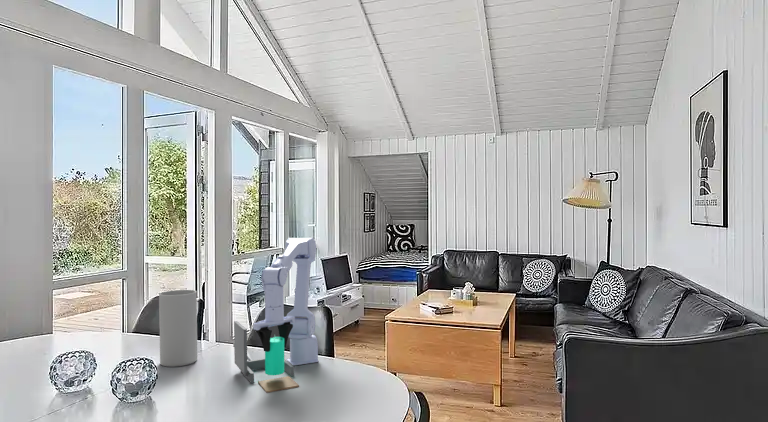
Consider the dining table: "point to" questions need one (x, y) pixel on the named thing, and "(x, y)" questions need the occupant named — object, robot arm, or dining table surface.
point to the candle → (275, 357)
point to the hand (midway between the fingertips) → (275, 349)
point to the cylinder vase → (178, 327)
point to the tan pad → (278, 384)
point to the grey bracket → (242, 357)
